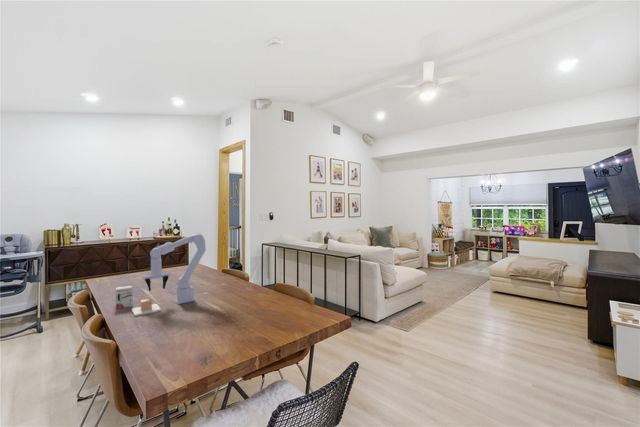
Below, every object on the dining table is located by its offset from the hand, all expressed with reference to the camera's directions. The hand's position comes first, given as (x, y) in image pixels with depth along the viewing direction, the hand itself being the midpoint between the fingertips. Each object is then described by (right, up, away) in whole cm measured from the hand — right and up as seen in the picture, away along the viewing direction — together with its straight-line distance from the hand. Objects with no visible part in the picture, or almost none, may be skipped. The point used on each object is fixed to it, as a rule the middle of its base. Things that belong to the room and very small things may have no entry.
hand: (156, 289), depth 181 cm
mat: (-1, -10, -10) cm, 14 cm away
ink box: (-19, -10, -2) cm, 21 cm away
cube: (-1, -9, -10) cm, 13 cm away
